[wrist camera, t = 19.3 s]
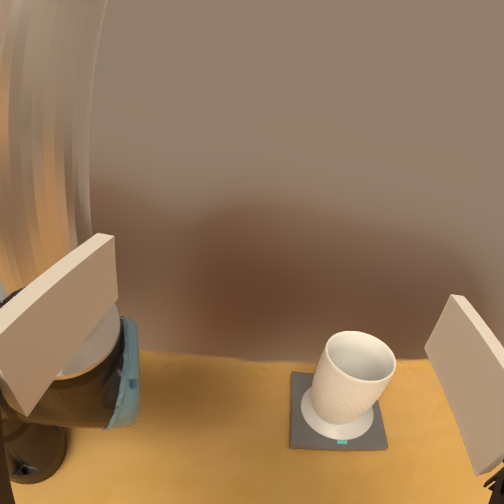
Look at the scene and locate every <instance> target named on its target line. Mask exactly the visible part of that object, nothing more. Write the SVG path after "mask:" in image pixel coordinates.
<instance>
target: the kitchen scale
mask: <svg viewBox="0 0 504 504" xmlns="http://www.w3.org/2000/svg"><path fill="white" fill-rule="evenodd" d="M313 378H314V374H309V373H300V372H293V371H292V374H291V409H290V445H289V448H297V449H311V450H332V451H374V450H386V449H387V448H388V444H387V439H386V434H385V429H384V425H383V420H382V416H381V412H380V407H379V403H378V399H377V400H376V401H375V403H374V404H373V405H372V406H371V407H370V409H368V410H367V411H366V412H365V413H364V414H363V415H362V416H360V417H359V418H358V419H355V420H354V421H352V422H349V423H346V424H341V425H334V424H330V423H327V422H325V421H323V420H322V419H321V418H320V417H319V416H318V415H317V414H316V412H315V410H314V408H313V406H312V399H311V391H312V382H313Z"/></svg>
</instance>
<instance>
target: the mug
mask: <svg viewBox="0 0 504 504" xmlns="http://www.w3.org/2000/svg"><path fill="white" fill-rule="evenodd" d="M395 369H396V360H395V357H394V354H393V353H392V351H391V350H390V349H389V347H388V346H387V345H386V344H385V343H383V342H382V341H381V340H379V339H377V338H376V337H374V336H371V335H369V334H366V333H362V332H356V331H344V332H340V333H337V334H335V335H333V336H332V337H331V338H330V339H329V340H328V341H327V343H326V346H325V348H324V350H323V353H322V355H321V357H320V360H319V363H318V365H317V368H316V371H315V374H314V378H313V382H312V391H311V399H312V406H313V408H314V410H315V412H316V414H317V415H318V416H319V417H320V418H321V419H322V420H323V421H325V422H327V423H330V424H334V425H341V424H346V423H349V422H352V421H354V420H355V419H358V418H359V417H360V416H362V415H363V414H364V413H365V412H366V411H367V410H368V409H370V407H371V406H372V405H373V404H374V403H375V401H376V400H377V399H378V398H379V396H380V395H381V394H382V392H383V390H384V389H385V387H386V385H387V384H388V383H389V380H390V379H391V377H392V375H393V374H394V372H395Z"/></svg>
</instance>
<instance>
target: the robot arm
mask: <svg viewBox="0 0 504 504" xmlns="http://www.w3.org/2000/svg"><path fill="white" fill-rule="evenodd" d="M106 4H107V0H0V299H1V302H2V303H0V504H15V501H14V497H13V492H12V488H11V483H10V481H12V482H16V483H20V484H34V483H38V482H41V481H43V480H45V479H47V478H49V477H50V476H51V475H52V474H54V473H55V472H56V470H57V469H58V468H59V466H60V465H61V463H62V461H63V458H64V455H65V450H66V439H65V434H64V431H63V428H62V427H75V428H101V429H103V430H109V429H111V428H118V427H129V426H131V425H133V424H134V423H136V421H137V420H138V417H139V413H140V386H139V382H138V381H139V349H138V335H137V327H136V324H135V322H134V321H133V320H132V319H129V318H125V317H124V316H119V313H118V310H117V307H116V305H115V304H114V302H115V301H116V300H117V299H118V290H117V277H116V262H115V243H114V236H111V235H106V234H101V233H97V234H96V235H94V236H93V237H92V231H91V217H90V197H89V135H90V133H89V132H90V115H91V100H92V91H93V80H94V73H95V65H96V58H97V51H98V44H99V39H100V33H101V28H102V23H103V18H104V13H105V9H106ZM424 349H425V351H426V353H427V355H428V357H429V360H430V362H431V364H432V366H433V368H434V370H435V372H436V375H437V377H438V379H439V381H440V384H441V386H442V388H443V390H444V393H445V395H446V397H447V400H448V402H449V405H450V407H451V410H452V412H453V414H454V417H455V420H456V422H457V425H458V427H459V430H460V433H461V435H462V438H463V441H464V444H465V446H466V449H467V452H468V455H469V458H470V461H471V464H472V467H473V470H474V473H475V476H478V475H481V474H484V473H488V472H490V471H492V470H493V469H494V468H495V467H496V466H498V465H499V464H500V463H501V462H502V461H503V463H504V348H503V347H502V346H501V344H500V343H499V341H498V340H497V338H496V337H495V336H494V334H493V333H492V332H491V330H490V329H489V328H488V326H487V325H486V324H485V322H484V321H483V320H482V318H481V317H480V316H479V314H478V313H477V312H476V311H475V309H474V308H473V307H472V306H471V304H470V303H469V302H468V301H467V300H466V298H465V297H464V296H459V295H452V294H451V295H450V297H449V299H448V301H447V304H446V306H445V308H444V310H443V312H442V314H441V317H440V318H439V320H438V322H437V324H436V326H435V328H434V330H433V332H432V334H431V336H430V338H429V340H428V342H427V343H426V345H425V347H424ZM493 481H496V482H495V483H494V484H492V485H491V486H490V487H489V488H488V489H490V490H492V491H493V492H492V495H491V498H490V501H489V504H504V467H503V468H502V469H501V470H500V471H498V472H497V473H496V474H495V475H494V476H492V477H491V478H490V479H489V480H487V481H486V482H485V484H484V486H483V487H486V486H488V485H489V484H490V483H492V482H493Z"/></svg>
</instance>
